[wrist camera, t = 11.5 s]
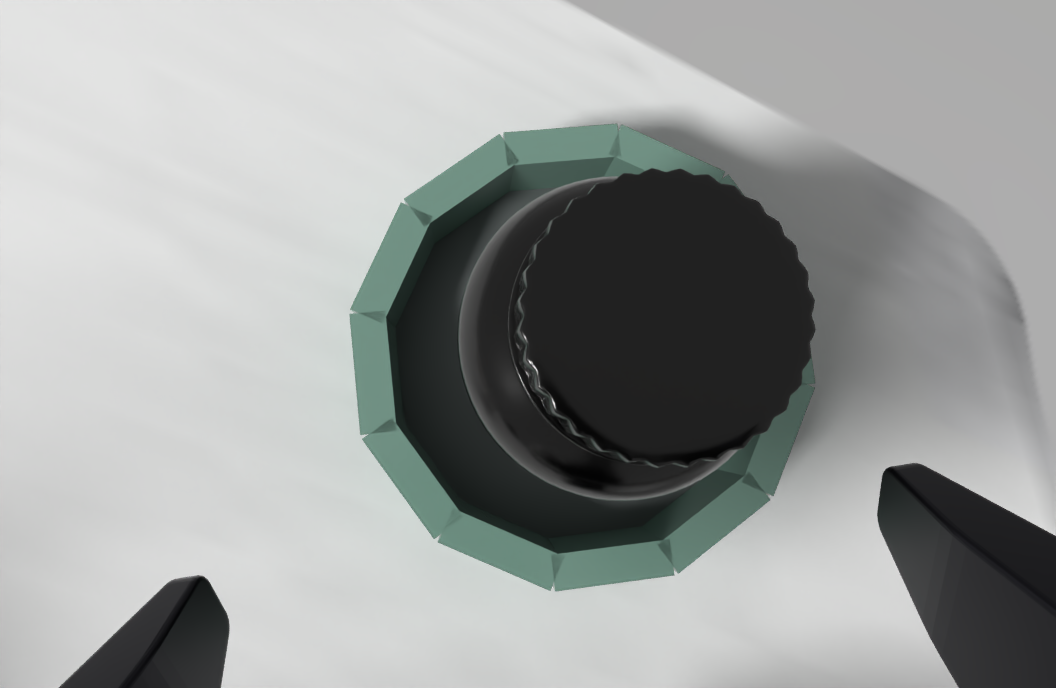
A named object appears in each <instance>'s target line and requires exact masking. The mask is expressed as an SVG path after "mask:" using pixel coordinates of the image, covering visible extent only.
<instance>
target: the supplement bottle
mask: <svg viewBox="0 0 1056 688" xmlns="http://www.w3.org/2000/svg"><path fill="white" fill-rule="evenodd" d="M814 302H815V300H814V298H813V295H812V293H811V292H810V291H809V288H808V271H807V270H806V269H805V267H804V266H803V265H802V264H801V262H800V261H799V260H798V252H797V248H796V245H794V244H793V243H792V242H791V241H790V240H789V239H788V238H787V237H785V236H784V232H783V229H782V227H781V225H780V223H779V222H778V221H777V220H775V219H774V218H772V217H770V216H768V215H767V214H766V213H765V211H764V209H763V207H762V206H761V204H760V203H759V202H758V201H756V200H753V199H750V198H747V197H745V196H744V195H743V194H742V193H741V192H740V190H739V189H738V188H737V187H736V186H734V185H729V184H721V183H719V182H718V181H716V180H715V178H713V177H712V176H710V175H709V174H700V175H693V174H691V173H689V172H687V171H685V170H683V169H681V168H680V169H675V170H671V171H668V172H664V171H661V170H658V169H654V168H651V169H648V170H646V171H644V172H642V173H640V174H632V173H623V174H621V175H620V176H606V177H597V178H590V179H585V180H581V181H576V182H573V183H570V184H567V185H564V186H561V187H558V188H556V189H554V190H551V191H549V192H547V193H545V194H543V195H541V196H539V197H538V198H536V199H534V200H533V201H531V202H529V203H528V204H527V205H525V206H524V207H522V208H521V209H520V210H518V211H517V212H516V213H515V214H514V215H512V216H511V217H510V218H509V219H508V220H507V221H506V222H505V223H504V224H503V225H502V226H501V227H500V228H499V229H498V230H497V231H496V233H495V234H494V235H493V236H492V238H491V239H490V240H489V242H488V243H487V244H486V246H485V247H484V249H483V251H482V252H481V254H480V256H479V257H478V259H477V261H476V263H475V265H474V267H473V269H472V271H471V274H470V276H469V279H468V282H467V284H466V287H465V290H464V294H463V298H462V302H461V306H460V312H459V318H458V331H457V345H458V358H459V364H460V371H461V374H462V378H463V382H464V386H465V389H466V392H467V394H468V397H469V400H470V402H471V404H472V406H473V408H474V410H475V413H476V415H477V416H478V418H479V420H480V421H481V423H482V425H483V426H484V428H485V429H486V431H487V432H488V433H489V435H490V436H491V437H492V439H493V440H494V441H495V442H496V443H497V445H498V446H499V447H500V448H501V449H502V450H503V451H504V452H505V453H506V454H507V455H508V456H509V457H510V458H511V459H512V460H514V461H515V462H516V463H517V464H518V465H520V466H521V467H522V468H524V469H525V470H526V471H528V472H529V473H531V474H532V475H534V476H536V477H537V478H539V479H541V480H543V481H544V482H546V483H548V484H551V485H553V486H555V487H557V488H559V489H562V490H565V491H567V492H570V493H573V494H576V495H580V496H584V497H588V498H593V499H600V500H608V501H633V500H644V499H649V498H655V497H659V496H663V495H666V494H670V493H673V492H676V491H678V490H681V489H683V488H686V487H688V486H690V485H692V484H694V483H696V482H698V481H700V480H702V479H703V478H705V477H706V476H708V475H709V474H711V473H712V472H714V471H715V470H717V469H718V468H719V467H720V466H722V465H723V464H724V463H725V462H727V461H728V460H729V459H730V458H731V457H732V456H733V455H734V454H735V453H736V452H737V451H738V450H739V449H743V448H744V447H745V446H746V445H747V444H748V443H749V441H750V440H751V439H752V437H753V436H756V435H759V434H762V433H764V432H767V430H768V429H769V427H770V425H771V423H772V420H773V419H774V417H776V416H778V415H780V414H781V413H783V412H784V411H786V410H787V407H788V404H789V399H790V396H791V395H792V394H793V393H794V392H795V391H796V390H797V389H798V388H799V387H800V386H801V384H802V372H803V369H804V368H805V366H806V365H807V364H808V362H809V360H810V359H811V349H810V341H811V339H812V337H813V335H814V332H815V325H814V321H813V319H812V311H813V308H814Z"/></svg>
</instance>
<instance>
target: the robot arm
mask: <svg viewBox="0 0 1056 688" xmlns="http://www.w3.org/2000/svg"><path fill="white" fill-rule="evenodd" d="M877 516H878V523H879V527H880V530H881V533H882V535H883V537H884V539H885V542H886V544H887V546H888V548H889V550H890V552H891V555H892V557H893V559H894V561H895V563H896V566H897V568H898V570H899V572H900V574H901V576H902V579H903V581H904V583H905V585H906V587H907V590H908V592H909V594H910V596H911V598H912V601H913V603H914V605H915V607H916V609H917V611H918V614H919V616H920V618H921V620H922V622H923V624H924V626H925V628H926V630H927V632H928V635H929V637H930V639H931V640H932V642H933V644H934V646H935V648H936V649H937V651H938V653H939V655H940V657H941V658H942V660H943V662H944V663H945V665H946V667H947V668H948V670H949V672H950V673H951V675H952V677H953V678H954V680H955V682H956V683H957V685H958V687H959V688H1056V536H1055V535H1053V534H1051V533H1049V532H1047V531H1045V530H1044V529H1042V528H1040V527H1038V526H1036V525H1034V524H1032V523H1031V522H1029V521H1027V520H1025V519H1023V518H1021V517H1019V516H1017V515H1016V514H1014V513H1012V512H1010V511H1008V510H1006V509H1004V508H1002V507H1001V506H999V505H997V504H995V503H993V502H991V501H989V500H988V499H986V498H984V497H982V496H980V495H978V494H976V493H974V492H973V491H971V490H969V489H967V488H965V487H963V486H961V485H960V484H958V483H956V482H954V481H952V480H950V479H948V478H946V477H945V476H943V475H941V474H939V473H937V472H935V471H933V470H931V469H930V468H928V467H926V466H924V465H921V464H918V463H911V464H905V465H898V466H892V467H889V468H887V469H886V470H885V471H884V473H883V476H882V482H881V489H880V497H879V504H878V513H877ZM228 638H229V619H228V616H227V613H226V611H225V609H224V608H223V606H222V604H221V602H220V600H219V599H218V597H217V595H216V593H215V591H214V589H213V588H212V586H211V584H210V582H209V581H208V579H207V578H205V577H204V576H199V575H197V576H191V577H184V578H178V579H174V580H172V581H170V582H168V583H167V584H166V585H165V586H164V587H163V588H162V589H161V590H160V591H159V592H158V593H157V594H156V595H154V596H153V597H152V598H151V599H150V600H149V601H148V602H147V603H146V604H145V605H144V606H143V607H142V608H141V609H140V610H139V611H138V612H137V613H136V614H135V615H134V616H133V617H132V618H131V619H130V620H129V621H127V622H126V623H125V624H124V625H123V626H122V627H121V628H120V629H119V630H118V631H117V632H116V633H115V634H114V635H113V636H112V637H111V638H110V639H109V640H108V641H107V642H106V643H105V644H104V645H103V646H102V647H100V648H99V649H98V650H97V651H96V652H95V653H94V654H93V655H92V656H91V657H90V658H89V659H88V660H87V661H86V662H85V663H84V664H83V665H82V666H81V667H80V668H79V669H78V670H77V671H76V672H74V673H73V674H72V675H71V676H70V677H69V678H68V679H67V680H66V681H65V682H64V683H63V684H62V685H61V686H60V687H59V688H221V683H222V677H223V670H224V664H225V657H226V651H227V645H228Z"/></svg>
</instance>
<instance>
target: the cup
mask: <svg viewBox="0 0 1056 688" xmlns="http://www.w3.org/2000/svg"><path fill="white" fill-rule="evenodd" d="M651 168H654V169H658V170H661V171H664V172H668V171H671V170H675V169H680V168H681V169H683V170H685V171H687V172H689V173H691V174H693V175H700V174H709V175H710V176H712V177H713V178H715V180H716V181H718V182H719V183H721V184H729V185H734V186H736V187H737V185H736V184H735V183H734V181H733V180H732V179H731V177H730V176H729V175H727V176H725V177H724V178H723V179H722V177H723V175H724V173H725V171H722V170H720V169H718V168H716V167H714V166H712V165H709V164H707V163H705V162H703V161H701V160H698V159H696V158H694V157H692V156H690V155H687V154H685V153H683V152H681V151H679V150H677V149H674V148H672V147H670V146H668V145H666V144H663V143H661V142H659V141H657V140H655V139H652V138H650V137H648V136H646V135H644V134H641V133H639V132H637V131H635V130H633V129H631V128H628V127H626V126H624V125H621V126H620V128H619V130H618V126H617V124H607V125H594V126H582V127H569V128H556V129H543V130H530V131H518V132H505V133H503V138H502V137H501V135H500V134H499V135H497V136H496V137H494V138H493V139H491V140H490V141H489V142H487V143H486V144H484V145H483V146H481V147H480V148H478V149H477V150H475V151H474V152H472V153H471V154H469V155H468V156H466V157H465V158H464V159H462V160H461V161H459V162H458V163H456V164H455V165H453V166H452V167H450V168H449V169H447V170H446V171H444V172H443V173H442V174H440V175H439V176H437V177H436V178H434V179H433V180H431V181H430V182H428V183H427V184H425V185H424V186H422V187H421V188H419V189H418V190H417V191H415V192H414V193H412V194H411V195H409V196H408V197H406V198H405V199H404V200H405V204H403V203H400V206H399V208H398V210H397V212H396V214H395V216H394V218H393V220H392V222H391V225H390V227H389V229H388V231H387V233H386V235H385V237H384V239H383V241H382V243H381V246H380V248H379V250H378V252H377V254H376V256H375V258H374V260H373V262H372V265H371V267H370V269H369V271H368V273H367V275H366V277H365V279H364V281H363V283H362V286H361V288H360V290H359V292H358V294H357V296H356V298H355V300H354V302H353V305H352V307H351V309H350V310H352V311H353V312H354V314H350V325H351V336H352V347H353V358H354V369H355V380H356V391H357V402H358V413H359V424H360V435H364V434H369V435H367V436H366V437H364V438H363V439H362V440H363V441H364V443H365V444H366V445H367V447H368V448H369V450H370V451H371V452H372V454H373V455H374V456H375V458H376V459H377V461H378V462H379V463H380V465H381V466H382V468H383V469H384V470H385V472H386V473H387V475H388V476H389V477H390V479H391V480H392V481H393V483H394V484H395V486H396V487H397V488H398V490H399V491H400V493H401V494H402V495H403V497H404V498H405V499H406V501H407V502H408V504H409V505H410V506H411V508H412V509H413V511H414V512H415V513H416V515H417V516H418V517H419V519H420V520H421V522H422V523H423V524H424V526H425V527H426V529H427V530H428V531H429V533H430V534H431V536H432V537H433V538H434V539H435V538H436V537H438V536H439V535H440V536H439V540H438V543H441V544H443V545H445V546H448V547H450V548H452V549H455V550H457V551H459V552H462V553H464V554H466V555H469V556H471V557H473V558H475V559H478V560H480V561H482V562H485V563H487V564H489V565H492V566H494V567H496V568H499V569H501V570H503V571H506V572H508V573H510V574H512V575H515V576H517V577H519V578H522V579H524V580H526V581H529V582H531V583H533V584H536V585H538V586H540V587H543V588H545V589H547V590H549V591H550V590H551V588H552V586H553V588H554V590H555V591H562V590H569V589H577V588H584V587H591V586H599V585H606V584H614V583H621V582H628V581H636V580H643V579H651V578H658V577H665V576H673V575H674V570H675V571H676V572H677V573H678V574H679V573H680V572H681V571H682V570H684V569H685V568H686V567H687V566H689V565H690V564H691V563H692V562H694V561H695V560H696V559H697V558H699V557H700V556H701V555H702V554H703V553H705V552H706V551H707V550H708V549H710V548H711V547H712V546H713V545H715V544H716V543H717V542H718V541H720V540H721V539H722V538H723V537H725V536H726V535H727V534H728V533H730V532H731V531H732V530H733V529H735V528H736V527H737V526H738V525H740V524H741V523H742V522H743V521H745V520H746V519H747V518H748V517H750V516H751V515H752V514H753V513H755V512H756V511H757V510H758V509H760V508H761V507H762V506H763V505H765V504H766V503H767V502H768V501H770V498H769V497H768V496H767V495H771V496H774V493H775V490H776V488H777V485H778V483H779V480H780V477H781V475H782V472H783V470H784V467H785V464H786V462H787V459H788V457H789V454H790V451H791V449H792V446H793V444H794V441H795V438H796V436H797V433H798V430H799V428H800V425H801V423H802V420H803V417H804V415H805V412H806V410H807V407H808V404H809V402H810V399H811V397H812V394H813V391H814V389H815V388H814V387H812V386H810V385H808V384H814V383H815V378H814V371H813V364H812V358H811V359H810V360H809V362H808V364H807V365H806V366H805V368H804V369H803V372H802V384H801V386H800V387H799V388H798V389H797V390H796V391H795V392H794V393H793V394H792V395H791V396H790V399H789V404H788V407H787V410H786V411H784V412H783V413H781V414H780V415H778V416H776V417H774V419H773V420H772V423H771V425H770V427H769V429H768V430H767V432H764V433H762V434H759V435H756V436H753V437H752V439H751V440H750V441H749V443H748V444H747V445H746V446H745V447H744V448H743V449H739V450H738V451H737V452H736V453H735V454H734V455H733V456H732V457H731V458H730V459H729V460H728V461H727V462H725V463H724V464H723V465H722V466H720V467H719V468H718V469H717V470H715V471H714V472H712V473H711V474H709V475H708V476H706V477H705V478H703V479H702V480H700V481H698V482H696V483H694V484H692V485H690V486H688V487H686V488H683V489H681V490H678V491H676V492H673V493H670V494H666V495H663V496H659V497H655V498H649V499H644V500H633V501H608V500H600V499H593V498H588V497H584V496H580V495H576V494H573V493H570V492H567V491H565V490H562V489H559V488H557V487H555V486H553V485H551V484H548V483H546V482H544V481H543V480H541V479H539V478H537V477H536V476H534V475H532V474H531V473H529V472H528V471H526V470H525V469H524V468H522V467H521V466H520V465H518V464H517V463H516V462H515V461H514V460H512V459H511V458H510V457H509V456H508V455H507V454H506V453H505V452H504V451H503V450H502V449H501V448H500V447H499V446H498V445H497V443H496V442H495V441H494V440H493V439H492V437H491V436H490V435H489V433H488V432H487V431H486V429H485V428H484V426H483V425H482V423H481V421H480V420H479V418H478V416H477V415H476V413H475V410H474V408H473V406H472V404H471V402H470V400H469V397H468V394H467V392H466V389H465V386H464V382H463V378H462V374H461V371H460V364H459V358H458V345H457V331H458V318H459V312H460V306H461V302H462V298H463V294H464V290H465V287H466V284H467V282H468V279H469V276H470V274H471V271H472V269H473V267H474V265H475V263H476V261H477V259H478V257H479V256H480V254H481V252H482V251H483V249H484V247H485V246H486V244H487V243H488V242H489V240H490V239H491V238H492V236H493V235H494V234H495V233H496V231H497V230H498V229H499V228H500V227H501V226H502V225H503V224H504V223H505V222H506V221H507V220H508V219H509V218H510V217H511V216H512V215H514V214H515V213H516V212H517V211H518V210H520V209H521V208H522V207H524V206H525V205H527V204H528V203H529V202H531V201H533V200H534V199H536V198H538V197H539V196H541V195H543V194H545V193H547V192H549V191H551V190H554V189H556V188H558V187H561V186H564V185H567V184H570V183H573V182H576V181H581V180H585V179H590V178H597V177H606V176H620V175H621V174H623V173H632V174H640V173H642V172H644V171H646V170H648V169H651ZM737 188H738V187H737ZM738 189H739V188H738ZM739 190H740V189H739ZM740 192H741V191H740ZM741 193H742V192H741ZM742 194H743V193H742Z"/></svg>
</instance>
